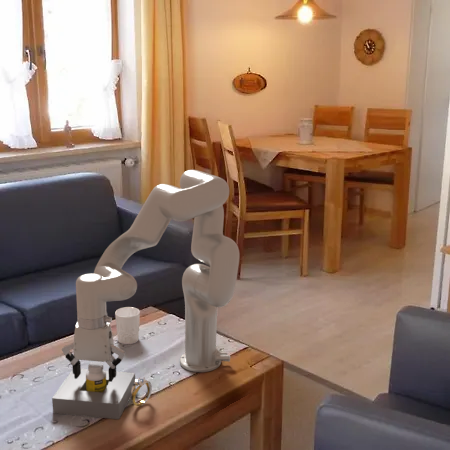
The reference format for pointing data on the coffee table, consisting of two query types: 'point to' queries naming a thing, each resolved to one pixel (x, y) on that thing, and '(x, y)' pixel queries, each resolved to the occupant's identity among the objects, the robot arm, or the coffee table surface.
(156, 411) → the coffee table surface
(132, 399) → the ring
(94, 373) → the supplement bottle
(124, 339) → the white cup
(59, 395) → the socket block
